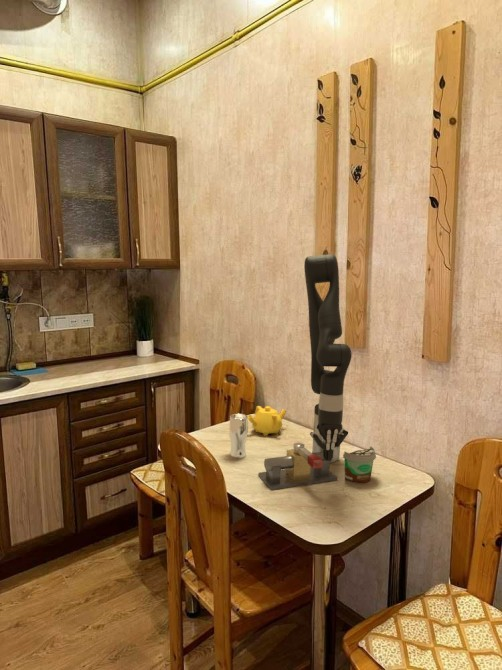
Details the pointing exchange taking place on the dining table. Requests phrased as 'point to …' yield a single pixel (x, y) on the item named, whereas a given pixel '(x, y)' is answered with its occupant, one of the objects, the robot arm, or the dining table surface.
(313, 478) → the valve pipe
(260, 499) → the dining table surface
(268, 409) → the teapot
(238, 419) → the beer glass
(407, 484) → the dining table surface
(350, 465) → the food container
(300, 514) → the dining table surface
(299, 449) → the valve lever
